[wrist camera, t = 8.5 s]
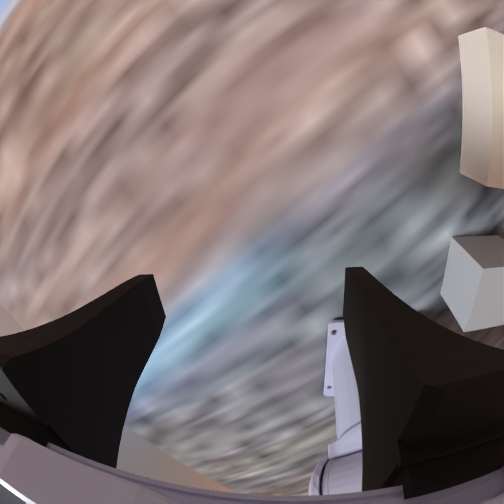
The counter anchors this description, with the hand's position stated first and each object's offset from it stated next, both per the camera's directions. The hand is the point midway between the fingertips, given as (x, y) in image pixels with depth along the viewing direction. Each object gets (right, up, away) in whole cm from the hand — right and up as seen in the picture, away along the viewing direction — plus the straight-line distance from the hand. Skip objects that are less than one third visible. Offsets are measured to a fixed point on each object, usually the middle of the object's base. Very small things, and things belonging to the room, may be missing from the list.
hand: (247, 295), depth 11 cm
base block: (+19, +12, +3) cm, 23 cm away
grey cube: (+18, +1, +9) cm, 20 cm away
